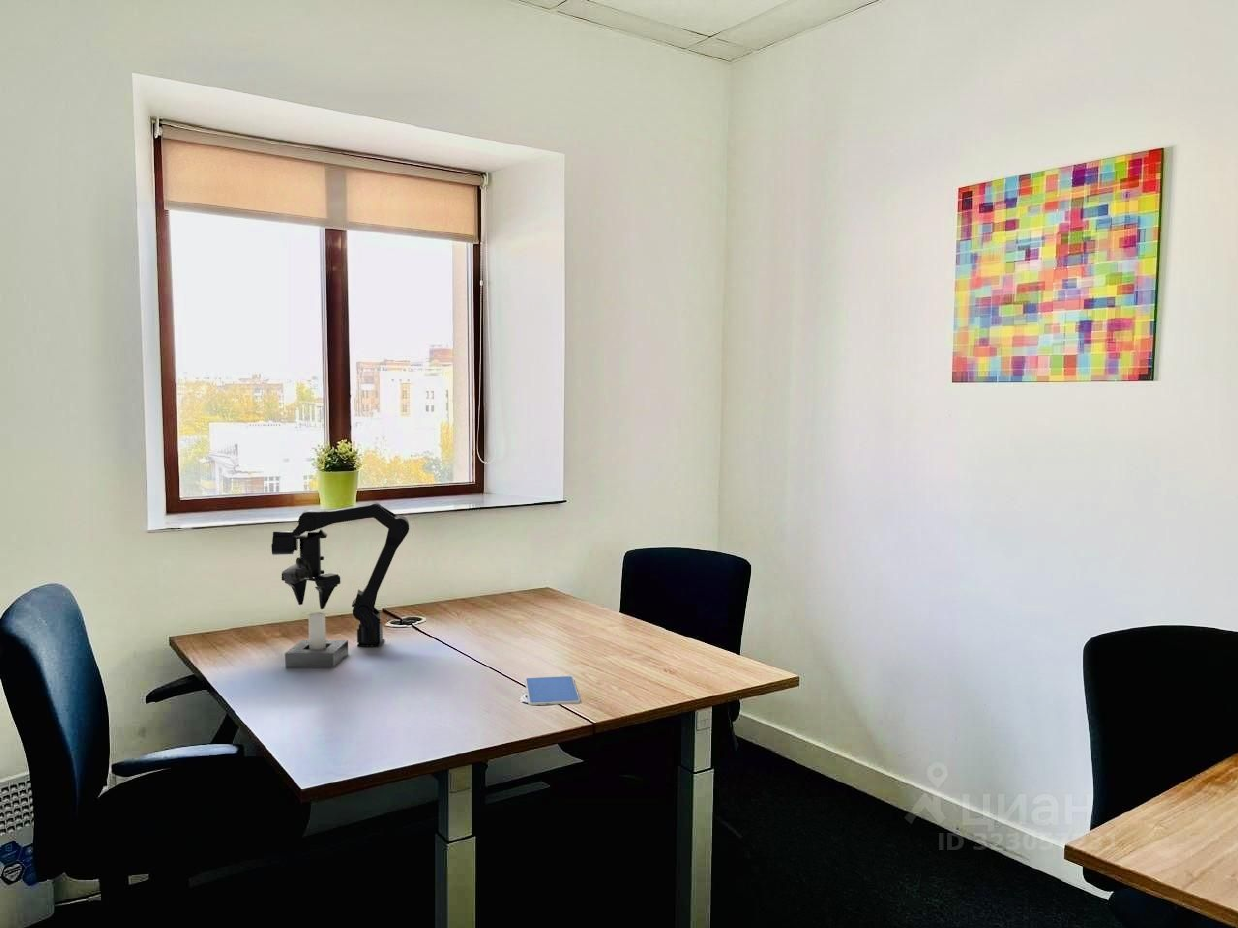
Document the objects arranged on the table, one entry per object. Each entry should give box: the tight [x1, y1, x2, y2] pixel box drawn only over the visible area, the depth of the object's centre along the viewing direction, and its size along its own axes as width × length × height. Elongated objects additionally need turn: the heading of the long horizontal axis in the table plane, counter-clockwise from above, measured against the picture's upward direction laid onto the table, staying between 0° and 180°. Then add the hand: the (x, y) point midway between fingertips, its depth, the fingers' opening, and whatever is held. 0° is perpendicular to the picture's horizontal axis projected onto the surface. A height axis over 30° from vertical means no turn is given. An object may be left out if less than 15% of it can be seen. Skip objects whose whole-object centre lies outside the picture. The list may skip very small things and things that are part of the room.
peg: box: [307, 612, 327, 650], centre depth 254 cm, size 4×4×13 cm
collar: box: [284, 639, 349, 669], centre depth 254 cm, size 13×13×4 cm
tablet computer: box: [524, 675, 581, 706], centre depth 230 cm, size 19×13×1 cm, turn 9°
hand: (311, 606), depth 267 cm, fingers open, 9 cm apart
